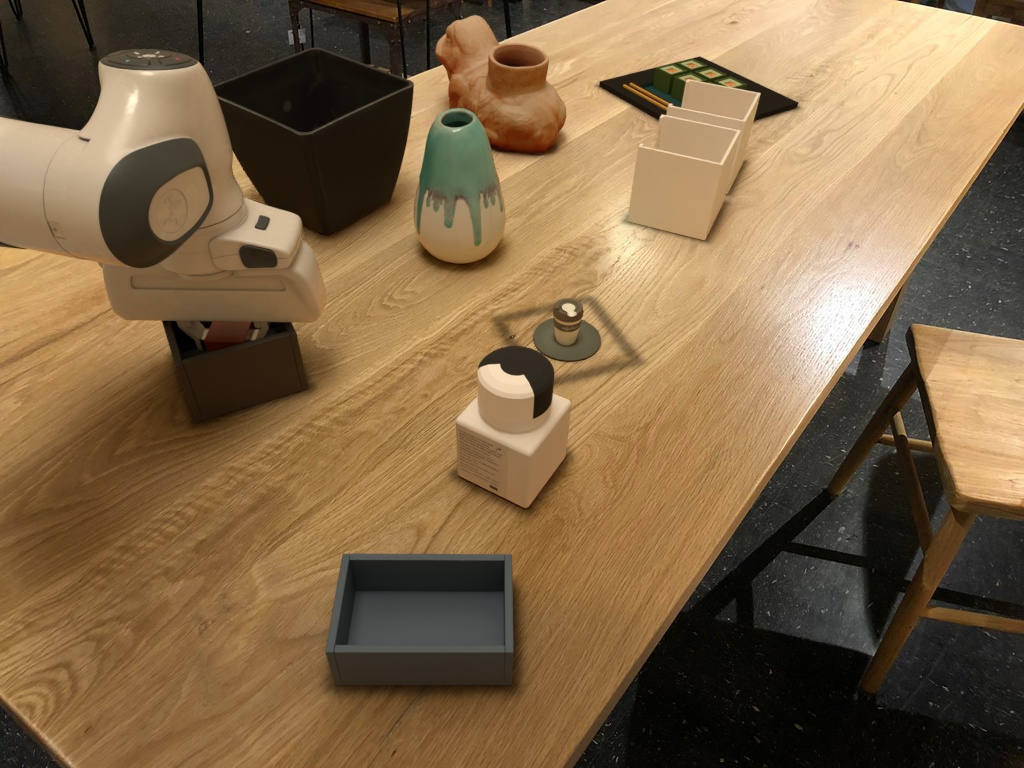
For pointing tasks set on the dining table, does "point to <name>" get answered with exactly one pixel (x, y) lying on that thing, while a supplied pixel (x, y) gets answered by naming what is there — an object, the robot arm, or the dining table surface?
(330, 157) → the flower pot
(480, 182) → the vase
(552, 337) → the coffee cup
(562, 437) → the container
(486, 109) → the ceramic vessel
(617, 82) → the sushi
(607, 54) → the dining table surface
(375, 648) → the box
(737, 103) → the storage container
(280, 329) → the basket
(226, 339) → the block
